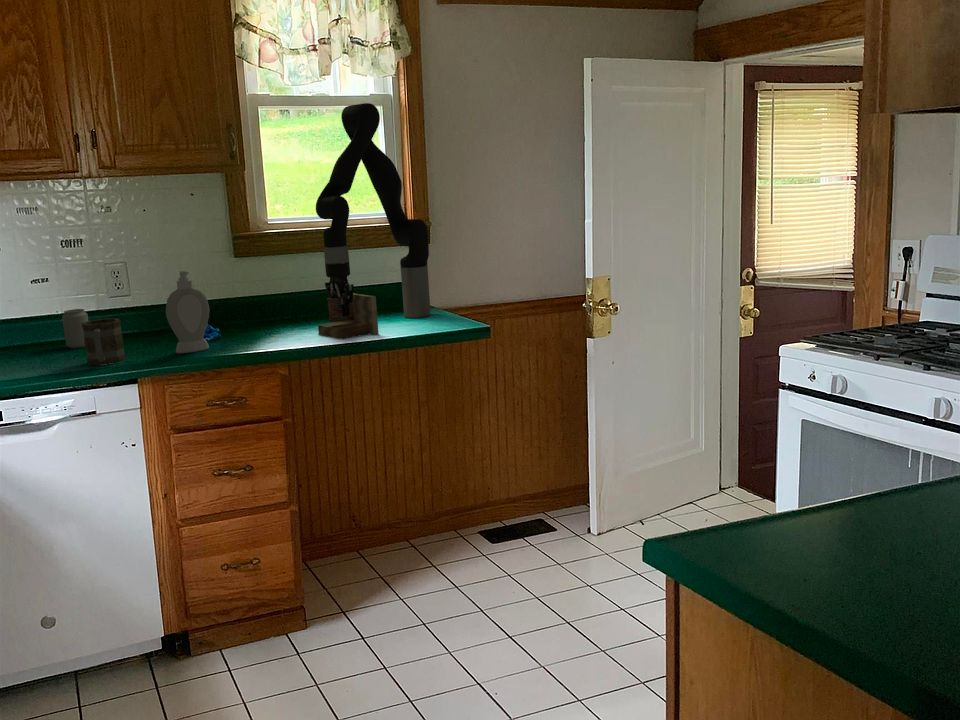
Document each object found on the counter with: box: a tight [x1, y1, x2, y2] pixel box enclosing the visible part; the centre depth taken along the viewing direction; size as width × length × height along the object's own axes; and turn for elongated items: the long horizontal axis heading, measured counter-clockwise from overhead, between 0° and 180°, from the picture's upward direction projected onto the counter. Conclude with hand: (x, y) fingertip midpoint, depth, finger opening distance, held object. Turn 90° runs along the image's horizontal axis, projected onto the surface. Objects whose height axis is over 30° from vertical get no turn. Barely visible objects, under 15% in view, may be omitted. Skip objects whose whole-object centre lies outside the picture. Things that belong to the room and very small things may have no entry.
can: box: [61, 308, 89, 350], centre depth 298 cm, size 8×8×12 cm
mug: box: [81, 318, 127, 366], centre depth 268 cm, size 16×11×12 cm
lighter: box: [326, 290, 355, 323], centre depth 293 cm, size 8×3×10 cm, turn 103°
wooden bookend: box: [317, 292, 380, 340], centre depth 295 cm, size 20×12×12 cm, turn 40°
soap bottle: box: [165, 269, 210, 354], centre depth 278 cm, size 13×8×24 cm, turn 123°
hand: (341, 314), depth 294 cm, fingers closed on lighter, 4 cm apart
